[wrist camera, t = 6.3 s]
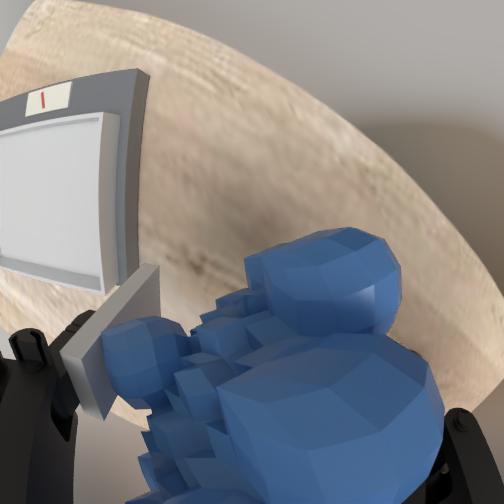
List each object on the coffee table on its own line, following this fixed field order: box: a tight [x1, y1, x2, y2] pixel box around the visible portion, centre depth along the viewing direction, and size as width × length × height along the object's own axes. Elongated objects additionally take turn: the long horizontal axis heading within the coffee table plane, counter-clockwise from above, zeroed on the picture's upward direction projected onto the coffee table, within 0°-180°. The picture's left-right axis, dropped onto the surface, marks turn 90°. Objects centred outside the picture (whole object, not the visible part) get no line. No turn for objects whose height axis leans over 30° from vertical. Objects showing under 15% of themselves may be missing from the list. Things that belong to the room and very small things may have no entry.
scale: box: [0, 68, 150, 296], centre depth 22 cm, size 22×21×6 cm
